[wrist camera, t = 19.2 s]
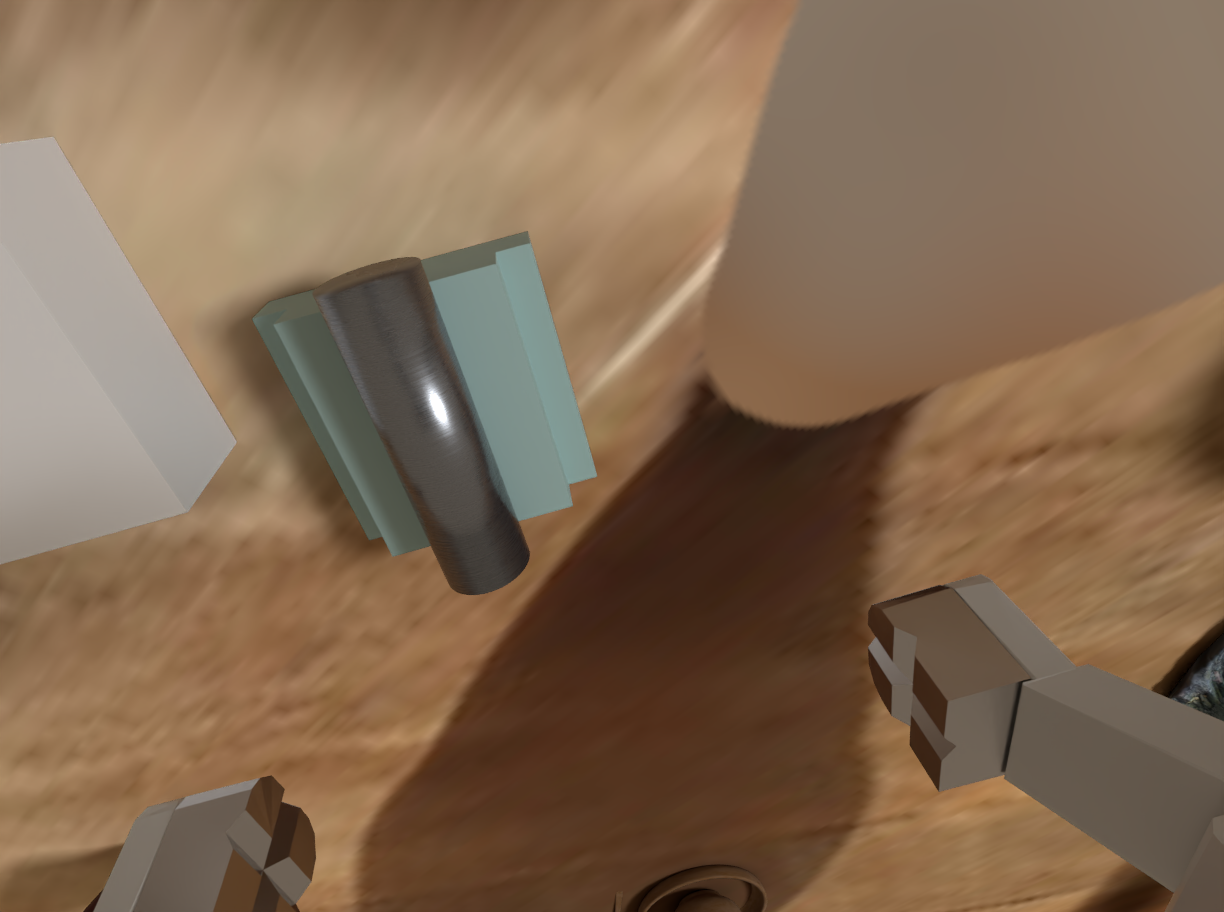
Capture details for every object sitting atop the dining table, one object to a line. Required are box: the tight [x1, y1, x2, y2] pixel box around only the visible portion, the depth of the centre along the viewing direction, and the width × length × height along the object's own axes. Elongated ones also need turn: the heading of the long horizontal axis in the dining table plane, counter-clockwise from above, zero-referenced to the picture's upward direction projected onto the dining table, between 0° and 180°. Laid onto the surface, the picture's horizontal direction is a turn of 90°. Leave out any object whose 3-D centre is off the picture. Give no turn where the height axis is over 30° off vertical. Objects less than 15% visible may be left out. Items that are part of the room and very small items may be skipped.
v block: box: [252, 231, 597, 556], centre depth 31 cm, size 12×12×4 cm
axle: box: [312, 257, 530, 595], centre depth 28 cm, size 14×4×4 cm, turn 13°
